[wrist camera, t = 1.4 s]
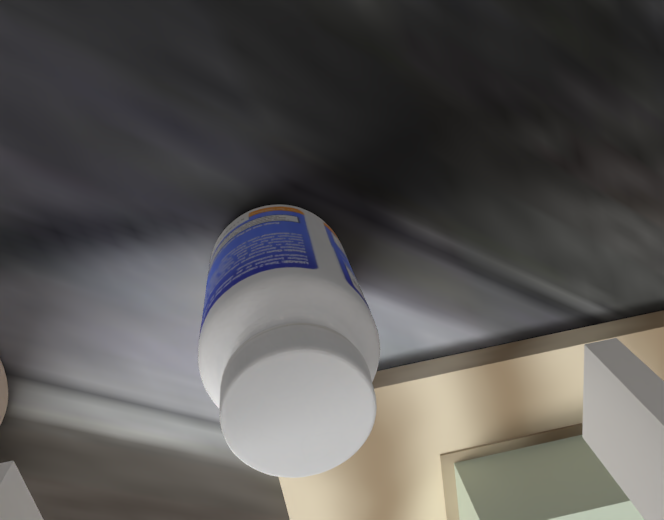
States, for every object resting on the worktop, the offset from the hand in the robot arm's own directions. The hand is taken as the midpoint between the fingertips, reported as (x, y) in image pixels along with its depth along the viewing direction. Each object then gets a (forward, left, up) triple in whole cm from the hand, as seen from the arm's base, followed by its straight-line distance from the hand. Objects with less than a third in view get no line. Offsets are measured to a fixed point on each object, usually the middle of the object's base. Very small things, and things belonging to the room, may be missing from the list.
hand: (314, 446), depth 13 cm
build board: (+8, -13, -11) cm, 19 cm away
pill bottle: (0, 0, -11) cm, 11 cm away
